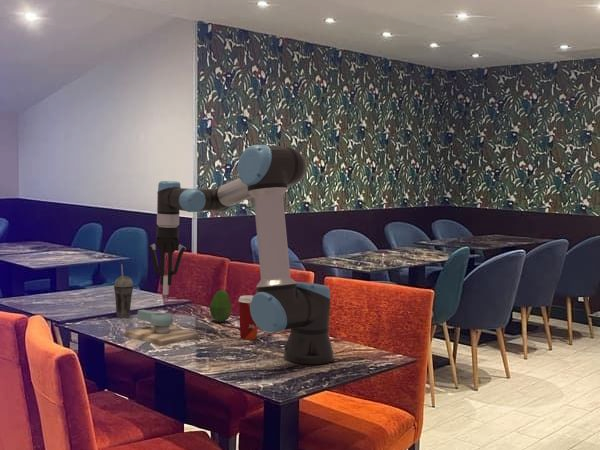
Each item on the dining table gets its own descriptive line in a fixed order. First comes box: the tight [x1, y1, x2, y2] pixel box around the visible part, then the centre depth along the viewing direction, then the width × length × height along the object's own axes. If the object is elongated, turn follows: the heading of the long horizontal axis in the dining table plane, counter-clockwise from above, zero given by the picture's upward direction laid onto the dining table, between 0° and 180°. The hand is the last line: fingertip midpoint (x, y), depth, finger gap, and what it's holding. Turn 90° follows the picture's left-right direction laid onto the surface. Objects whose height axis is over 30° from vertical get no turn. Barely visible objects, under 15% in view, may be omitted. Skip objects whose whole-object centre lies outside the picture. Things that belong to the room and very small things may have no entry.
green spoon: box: [137, 309, 174, 326], centre depth 233 cm, size 14×7×3 cm, turn 52°
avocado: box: [209, 289, 232, 323], centre depth 257 cm, size 8×8×12 cm
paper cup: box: [237, 294, 259, 341], centre depth 234 cm, size 8×8×14 cm
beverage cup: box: [113, 263, 134, 319], centre depth 258 cm, size 7×7×20 cm
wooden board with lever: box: [124, 325, 199, 346], centre depth 231 cm, size 18×16×4 cm
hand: (165, 294), depth 238 cm, fingers closed
